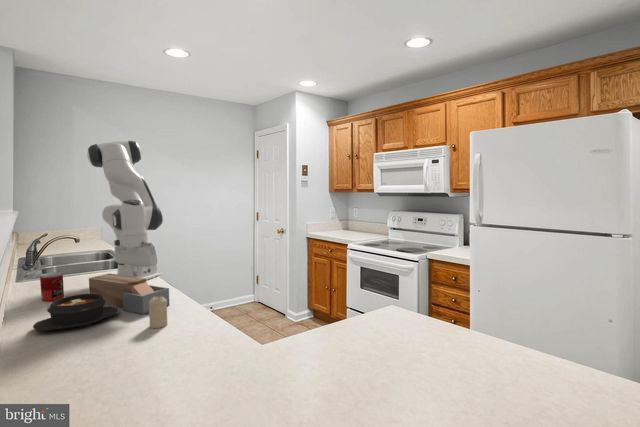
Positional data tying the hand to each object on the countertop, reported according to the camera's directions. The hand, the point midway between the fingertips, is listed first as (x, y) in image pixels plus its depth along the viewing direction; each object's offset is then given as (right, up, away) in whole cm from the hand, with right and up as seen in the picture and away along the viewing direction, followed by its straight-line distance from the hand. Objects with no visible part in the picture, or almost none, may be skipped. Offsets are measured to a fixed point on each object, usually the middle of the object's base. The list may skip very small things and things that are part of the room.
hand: (136, 275), depth 145 cm
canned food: (-41, -12, +11) cm, 44 cm away
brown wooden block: (-10, -12, +6) cm, 17 cm away
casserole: (-12, -14, -17) cm, 25 cm away
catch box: (+5, -12, -2) cm, 13 cm away
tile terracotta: (+3, -7, -1) cm, 7 cm away
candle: (+18, -14, -20) cm, 30 cm away
